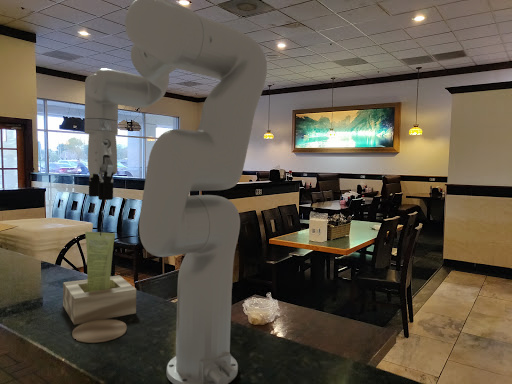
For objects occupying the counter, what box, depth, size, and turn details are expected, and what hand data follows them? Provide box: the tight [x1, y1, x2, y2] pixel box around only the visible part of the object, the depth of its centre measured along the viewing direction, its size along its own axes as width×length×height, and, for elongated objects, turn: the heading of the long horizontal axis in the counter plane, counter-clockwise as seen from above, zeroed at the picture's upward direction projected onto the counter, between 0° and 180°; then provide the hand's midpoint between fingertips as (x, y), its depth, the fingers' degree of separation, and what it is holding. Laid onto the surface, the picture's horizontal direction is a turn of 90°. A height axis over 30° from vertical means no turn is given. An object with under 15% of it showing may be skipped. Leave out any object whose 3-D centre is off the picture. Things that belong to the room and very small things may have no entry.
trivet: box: [71, 318, 128, 344], centre depth 84 cm, size 11×11×1 cm
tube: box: [84, 230, 116, 292], centre depth 97 cm, size 6×5×20 cm
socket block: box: [62, 275, 137, 326], centre depth 97 cm, size 14×14×6 cm
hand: (100, 197), depth 96 cm, fingers open, 9 cm apart
